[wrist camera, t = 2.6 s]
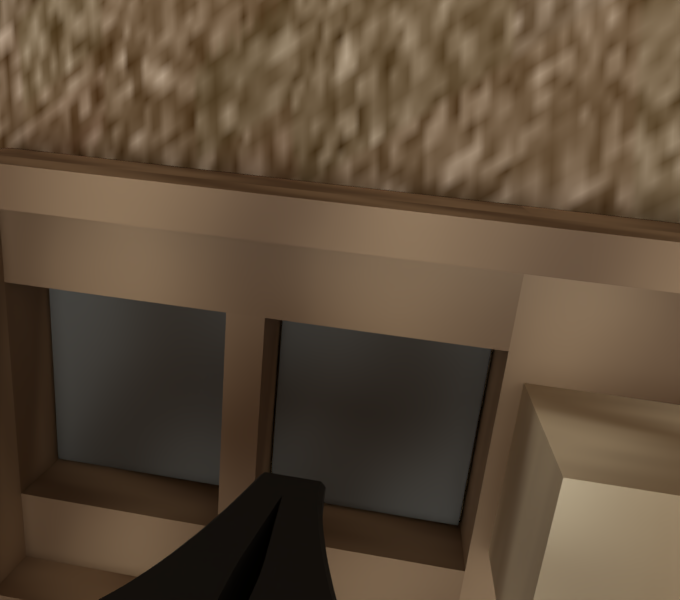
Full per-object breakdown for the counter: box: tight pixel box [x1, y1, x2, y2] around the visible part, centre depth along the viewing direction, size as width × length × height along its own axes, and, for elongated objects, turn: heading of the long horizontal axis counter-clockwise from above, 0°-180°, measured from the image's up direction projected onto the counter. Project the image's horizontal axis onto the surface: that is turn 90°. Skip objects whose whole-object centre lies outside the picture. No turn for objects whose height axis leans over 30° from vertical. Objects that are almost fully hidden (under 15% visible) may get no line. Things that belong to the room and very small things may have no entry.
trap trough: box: [0, 148, 680, 600], centre depth 15 cm, size 28×13×4 cm, turn 85°
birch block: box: [488, 383, 680, 600], centre depth 13 cm, size 5×5×4 cm
